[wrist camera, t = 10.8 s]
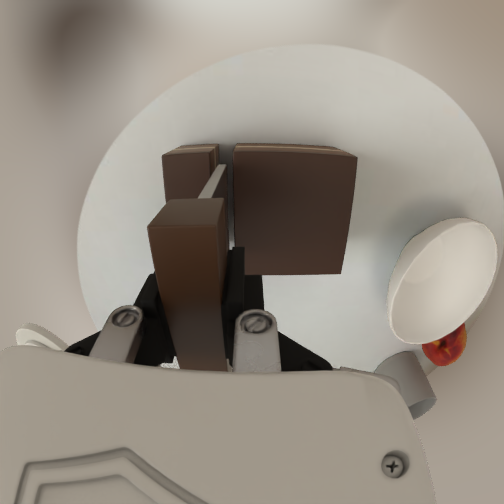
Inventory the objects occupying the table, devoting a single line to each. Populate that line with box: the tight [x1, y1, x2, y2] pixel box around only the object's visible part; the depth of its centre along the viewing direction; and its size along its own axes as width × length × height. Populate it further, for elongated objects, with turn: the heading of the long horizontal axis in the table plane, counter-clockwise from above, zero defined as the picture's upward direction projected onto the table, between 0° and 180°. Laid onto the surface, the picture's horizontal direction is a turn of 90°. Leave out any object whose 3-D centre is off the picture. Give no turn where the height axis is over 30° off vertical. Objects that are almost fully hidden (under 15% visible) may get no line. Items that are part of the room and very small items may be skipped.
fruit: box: [422, 323, 467, 366], centre depth 31 cm, size 8×8×8 cm
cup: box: [374, 351, 437, 420], centre depth 35 cm, size 8×8×10 cm
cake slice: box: [162, 144, 219, 203], centre depth 23 cm, size 4×10×6 cm, turn 0°
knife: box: [147, 165, 232, 372], centre depth 14 cm, size 2×8×12 cm, turn 0°
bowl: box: [386, 218, 498, 344], centre depth 26 cm, size 16×16×7 cm
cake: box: [233, 143, 357, 275], centre depth 23 cm, size 9×10×6 cm
